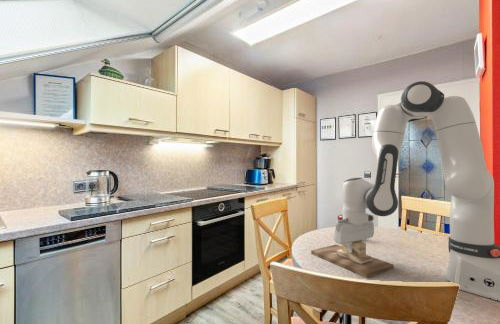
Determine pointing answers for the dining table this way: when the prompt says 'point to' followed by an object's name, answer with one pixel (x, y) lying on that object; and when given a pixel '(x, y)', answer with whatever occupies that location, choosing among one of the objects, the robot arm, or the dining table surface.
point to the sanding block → (355, 253)
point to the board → (363, 270)
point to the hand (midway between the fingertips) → (354, 251)
